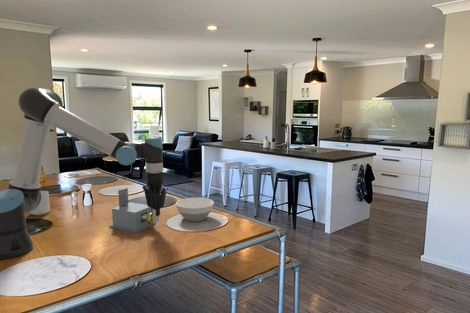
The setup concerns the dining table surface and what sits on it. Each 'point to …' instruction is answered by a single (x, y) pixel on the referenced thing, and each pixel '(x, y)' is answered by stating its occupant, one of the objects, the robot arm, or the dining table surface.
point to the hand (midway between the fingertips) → (156, 222)
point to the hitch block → (130, 217)
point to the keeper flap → (123, 197)
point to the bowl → (194, 208)
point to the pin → (147, 218)
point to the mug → (42, 204)
